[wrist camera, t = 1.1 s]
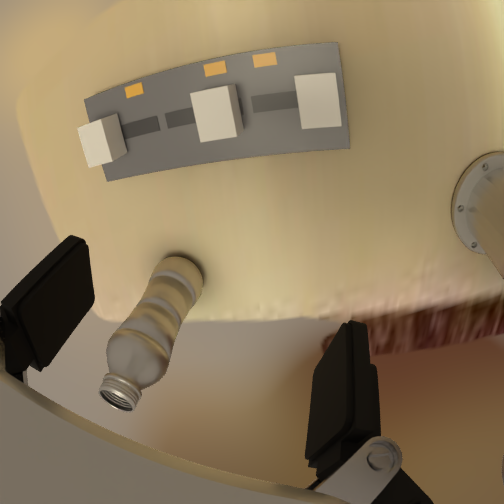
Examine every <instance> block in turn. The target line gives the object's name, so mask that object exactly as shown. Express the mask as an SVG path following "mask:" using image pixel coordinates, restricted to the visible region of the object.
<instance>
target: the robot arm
mask: <svg viewBox="0 0 504 504" xmlns="http://www.w3.org/2000/svg"><path fill="white" fill-rule="evenodd" d="M452 221H453V226H454V229H455V231H456V234H457V235H458V237H459V238H460V240H461V241H462V242H463V244H464V245H465V246H466V247H467V248H469V249H470V250H472V251H474V252H476V253H480V254H487V255H488V257H489V258H490V260H491V261H492V262H493V264H494V265H495V267H496V268H497V270H498V271H499V273H500V274H501V276H502V277H503V279H504V152H494V153H489V154H487V155H485V156H482V157H480V158H479V159H478V160H476V161H475V162H473V163H472V165H471V166H470V167H469V168H468V169H467V170H466V171H465V173H464V174H463V175H462V177H461V178H460V181H459V183H458V185H457V187H456V189H455V193H454V196H453V201H452ZM94 301H95V295H94V288H93V281H92V274H91V266H90V257H89V248H88V245H87V244H86V242H85V240H84V239H82V238H79V237H76V236H73V235H70V236H68V237H67V238H66V239H65V240H64V241H63V242H61V243H60V244H59V245H58V246H57V247H56V248H55V249H54V250H53V251H52V252H50V253H49V254H48V255H47V256H46V257H45V258H44V259H43V260H42V261H41V262H40V263H39V264H38V265H37V266H36V267H35V268H33V269H32V270H31V271H30V272H29V274H27V275H26V276H25V277H24V278H23V279H22V280H21V281H20V282H19V283H18V284H17V285H16V286H15V287H14V288H13V290H11V291H10V293H9V294H8V295H7V296H6V297H5V298H4V299H3V300H2V301H1V304H2V305H1V306H0V504H434V503H433V502H432V500H431V499H430V498H429V497H428V496H427V495H426V494H425V493H424V492H423V491H422V490H421V489H420V487H418V485H417V484H416V483H415V482H414V481H413V480H412V479H411V478H410V477H409V476H408V475H407V474H406V473H405V472H404V471H403V470H402V469H401V468H400V467H401V463H402V452H401V450H400V448H399V446H398V445H397V444H396V443H395V442H394V441H393V440H391V439H390V438H387V437H384V436H381V427H380V426H381V425H380V405H379V389H378V376H377V368H376V366H375V365H373V364H370V353H369V342H368V332H367V325H366V324H364V323H360V322H356V321H352V320H350V321H349V322H348V323H343V324H342V325H341V327H340V329H339V330H338V332H337V334H336V335H335V337H334V339H333V340H332V342H331V344H330V345H329V347H328V349H327V350H326V352H325V353H324V355H323V357H322V359H321V360H320V361H319V363H318V365H317V366H316V368H315V370H314V374H313V382H312V393H311V404H310V414H309V423H308V433H307V441H306V450H305V459H307V460H309V465H308V467H311V468H317V471H316V476H317V479H316V480H314V481H313V482H312V483H311V484H310V485H308V486H307V487H306V488H305V489H302V488H297V487H292V486H288V485H283V484H277V483H272V482H267V481H263V480H258V479H253V478H249V477H245V476H241V475H237V474H233V473H229V472H225V471H221V470H218V469H214V468H210V467H207V466H204V465H200V464H197V463H194V462H190V461H187V460H184V459H181V458H178V457H175V456H172V455H169V454H167V453H164V452H161V451H158V450H156V449H153V448H150V447H148V446H145V445H143V444H140V443H138V442H135V441H133V440H130V439H128V438H126V437H124V436H121V435H119V434H116V433H114V432H112V431H110V430H108V429H105V428H104V427H101V426H99V425H97V424H95V423H93V422H91V421H89V420H87V419H85V418H83V417H81V416H79V415H77V414H75V413H74V412H72V411H70V410H68V409H66V408H64V407H62V406H61V405H59V404H57V403H55V402H54V401H52V400H50V399H48V398H47V397H45V396H43V395H42V394H40V393H38V392H37V391H35V390H34V389H32V388H30V387H29V386H28V379H27V368H28V367H29V365H30V366H31V367H33V368H35V369H36V370H38V371H39V372H41V371H42V369H43V368H44V367H47V366H48V365H49V364H50V363H51V362H52V360H53V359H54V357H55V356H56V354H57V353H58V352H59V350H60V349H61V347H62V346H63V345H64V343H65V342H66V340H67V339H68V338H69V336H70V335H71V334H72V332H73V331H74V329H75V328H76V327H77V325H78V324H79V323H80V321H81V320H82V319H83V317H84V316H85V315H86V313H87V312H88V311H89V310H90V308H91V307H92V305H93V304H94ZM502 478H503V484H504V455H503V460H502Z"/></svg>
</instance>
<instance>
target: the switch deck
mask: <svg viewBox="0 0 504 504" xmlns="http://www.w3.org/2000/svg"><path fill="white" fill-rule="evenodd" d="M318 73H335V74H336V82H337V89H338V97H339V106H340V115H341V125H342V126H338V127H322V128H310V129H302V127H301V119H300V112H299V105H298V98H297V92H296V85H295V79H294V76H295V75H306V74H318ZM232 84H235V86H236V91H237V96H238V102H239V107H240V112H241V118H242V123H243V128H244V130H243V131H242V132H241V133H240V134H239V135H238V136H237V137H232V138H225V139H219V140H213V141H207V142H200V137H199V133H198V128H197V124H196V119H195V115H194V110H193V106H192V101H191V96H190V93H194V92H198V91H202V90H206V89H211V88H216V87H221V86H226V85H232ZM84 102H85V106H86V110H87V114H88V118H89V122H90V123H91V122H93V121H96V120H99V119H102V118H105V117H108V116H111V115H114V114H117V115H118V119H119V123H120V127H121V131H122V134H123V138H124V142H125V146H126V149H127V153H126V154H124V155H123V156H121V157H119V158H118V159H116V160H114V161H112V162H109V163H105V164H102V167H103V170H104V173H105V177H106V180H107V182H109V181H113V180H118V179H123V178H127V177H132V176H137V175H142V174H147V173H152V172H158V171H163V170H169V169H174V168H180V167H186V166H192V165H199V164H205V163H212V162H219V161H226V160H233V159H241V158H249V157H257V156H266V155H276V154H286V153H296V152H308V151H321V150H336V149H350V141H349V129H348V119H347V109H346V100H345V91H344V83H343V76H342V68H341V61H340V55H339V48H338V42H331V43H316V44H304V45H294V46H285V47H277V48H270V49H263V50H256V51H250V52H244V53H239V54H233V55H228V56H223V57H219V58H214V59H209V60H205V61H201V62H197V63H193V64H189V65H185V66H181V67H177V68H174V69H170V70H166V71H163V72H160V73H156V74H153V75H150V76H147V77H143V78H140V79H137V80H134V81H131V82H129V83H126V84H123V85H120V86H117V87H115V88H112V89H109V90H107V91H104V92H101V93H99V94H96V95H94V96H91V97H89V98H87V99H84Z"/></svg>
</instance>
